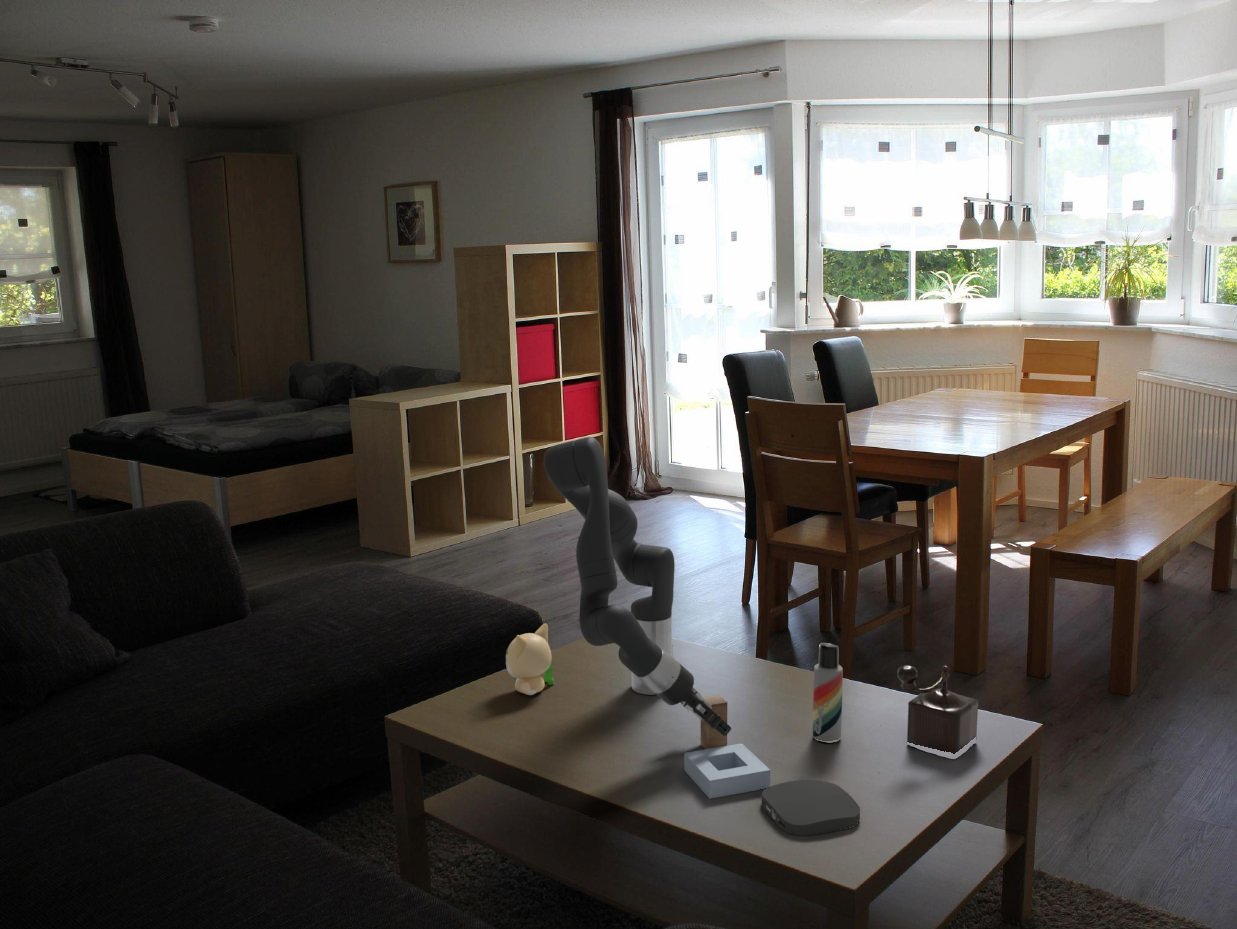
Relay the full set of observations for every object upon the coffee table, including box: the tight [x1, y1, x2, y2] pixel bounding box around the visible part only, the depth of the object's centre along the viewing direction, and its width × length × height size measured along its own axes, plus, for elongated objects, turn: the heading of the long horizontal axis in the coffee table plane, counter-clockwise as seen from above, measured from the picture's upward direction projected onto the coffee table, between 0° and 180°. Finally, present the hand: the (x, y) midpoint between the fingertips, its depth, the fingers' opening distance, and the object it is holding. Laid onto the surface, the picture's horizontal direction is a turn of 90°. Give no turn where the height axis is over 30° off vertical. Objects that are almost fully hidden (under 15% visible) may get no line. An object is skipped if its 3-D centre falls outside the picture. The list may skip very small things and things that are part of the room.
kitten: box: [505, 623, 555, 696], centre depth 242 cm, size 15×10×15 cm
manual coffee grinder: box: [896, 664, 979, 754], centre depth 209 cm, size 16×11×18 cm
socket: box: [683, 743, 771, 800], centre depth 199 cm, size 12×12×4 cm
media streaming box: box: [761, 779, 861, 837], centre depth 187 cm, size 15×15×3 cm
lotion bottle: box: [812, 642, 844, 741], centre depth 214 cm, size 6×6×20 cm
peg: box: [700, 694, 728, 750], centre depth 212 cm, size 4×4×10 cm
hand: (718, 723), depth 212 cm, fingers open, 8 cm apart
